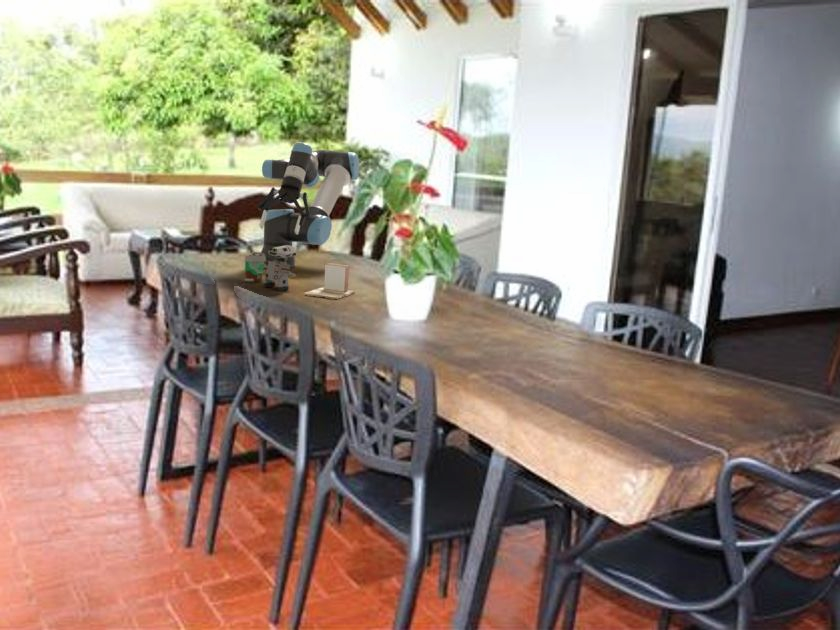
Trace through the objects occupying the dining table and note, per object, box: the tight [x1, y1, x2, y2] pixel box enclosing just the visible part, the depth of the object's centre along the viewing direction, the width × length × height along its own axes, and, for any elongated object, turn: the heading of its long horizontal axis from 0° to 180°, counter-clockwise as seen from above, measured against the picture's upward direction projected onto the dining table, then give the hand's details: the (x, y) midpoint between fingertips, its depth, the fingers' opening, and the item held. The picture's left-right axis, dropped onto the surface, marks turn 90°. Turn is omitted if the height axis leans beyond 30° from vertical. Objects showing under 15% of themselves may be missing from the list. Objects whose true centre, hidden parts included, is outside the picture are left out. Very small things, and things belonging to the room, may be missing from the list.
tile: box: [323, 262, 350, 292], centre depth 294 cm, size 3×8×9 cm, turn 72°
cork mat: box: [303, 286, 356, 300], centre depth 291 cm, size 16×12×1 cm
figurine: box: [263, 245, 298, 292], centre depth 293 cm, size 9×12×15 cm
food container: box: [244, 251, 266, 284], centre depth 303 cm, size 12×6×10 cm, turn 179°
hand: (278, 230), depth 310 cm, fingers open, 13 cm apart
